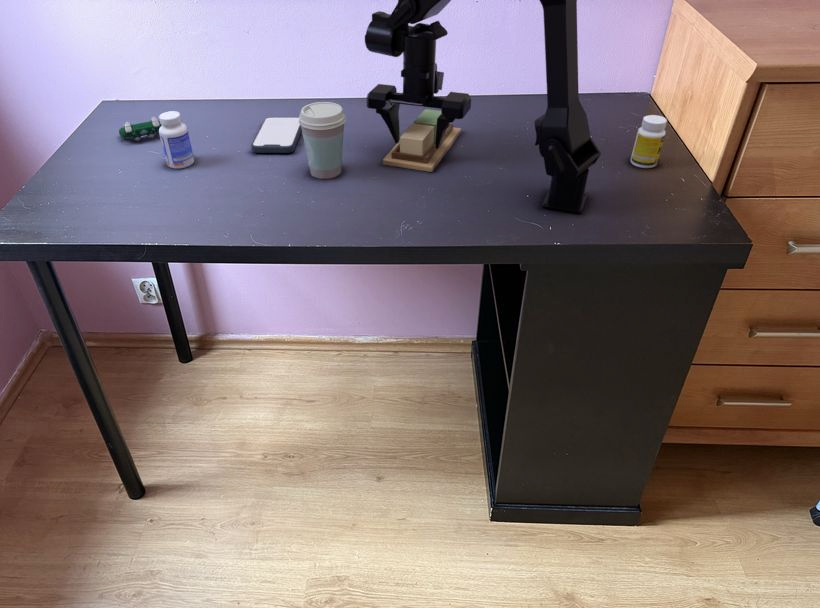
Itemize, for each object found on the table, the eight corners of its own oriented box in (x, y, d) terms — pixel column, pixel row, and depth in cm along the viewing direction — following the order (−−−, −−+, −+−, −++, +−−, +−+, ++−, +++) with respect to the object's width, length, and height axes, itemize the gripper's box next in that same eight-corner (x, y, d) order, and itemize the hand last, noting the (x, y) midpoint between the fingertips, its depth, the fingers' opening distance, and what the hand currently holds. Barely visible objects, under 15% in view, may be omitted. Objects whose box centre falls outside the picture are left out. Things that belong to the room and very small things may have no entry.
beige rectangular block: (421, 160, 125) (422, 140, 123) (399, 157, 127) (399, 137, 124) (433, 145, 130) (434, 126, 127) (412, 142, 131) (412, 123, 129)
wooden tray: (432, 172, 124) (432, 161, 122) (382, 164, 127) (382, 153, 125) (460, 133, 137) (461, 122, 135) (415, 126, 140) (415, 116, 138)
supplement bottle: (658, 169, 121) (671, 125, 116) (631, 168, 122) (642, 123, 116) (654, 158, 125) (667, 114, 119) (628, 157, 125) (639, 113, 120)
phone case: (265, 124, 144) (250, 154, 132) (264, 116, 143) (249, 146, 131) (305, 124, 144) (293, 154, 131) (305, 116, 143) (293, 146, 130)
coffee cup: (313, 160, 129) (308, 98, 121) (354, 165, 127) (352, 103, 119) (296, 179, 123) (289, 116, 115) (339, 185, 121) (335, 121, 113)
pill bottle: (200, 159, 131) (190, 111, 125) (183, 171, 128) (172, 122, 121) (177, 155, 133) (167, 107, 127) (161, 166, 129) (149, 118, 123)
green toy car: (123, 148, 141) (121, 136, 135) (118, 131, 141) (116, 119, 135) (166, 139, 144) (166, 128, 138) (161, 123, 144) (160, 111, 138)
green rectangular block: (434, 144, 130) (435, 124, 128) (413, 141, 132) (413, 121, 129) (445, 130, 135) (446, 111, 133) (424, 128, 137) (425, 108, 134)
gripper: (482, 52, 120) (475, 135, 130) (386, 43, 126) (387, 123, 136) (465, 72, 112) (459, 158, 122) (364, 62, 118) (366, 145, 128)
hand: (417, 145), depth 127 cm, fingers open, 8 cm apart
